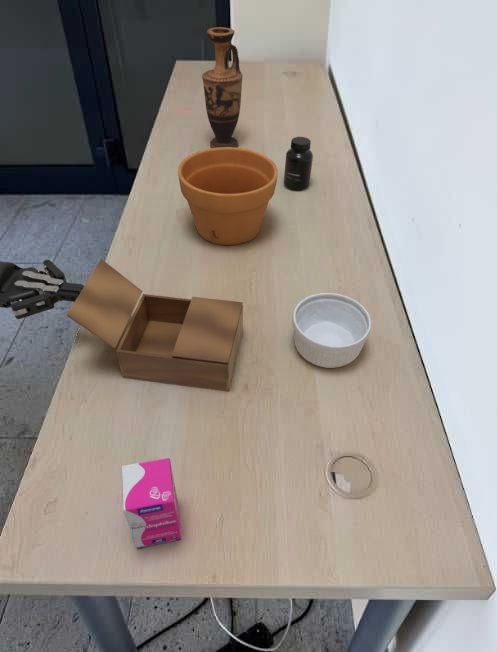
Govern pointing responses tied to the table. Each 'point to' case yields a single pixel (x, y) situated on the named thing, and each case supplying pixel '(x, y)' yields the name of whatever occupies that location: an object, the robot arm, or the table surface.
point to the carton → (182, 341)
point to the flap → (105, 303)
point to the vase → (223, 89)
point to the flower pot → (227, 192)
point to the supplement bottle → (298, 164)
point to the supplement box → (151, 502)
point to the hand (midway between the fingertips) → (84, 293)
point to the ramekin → (330, 329)
